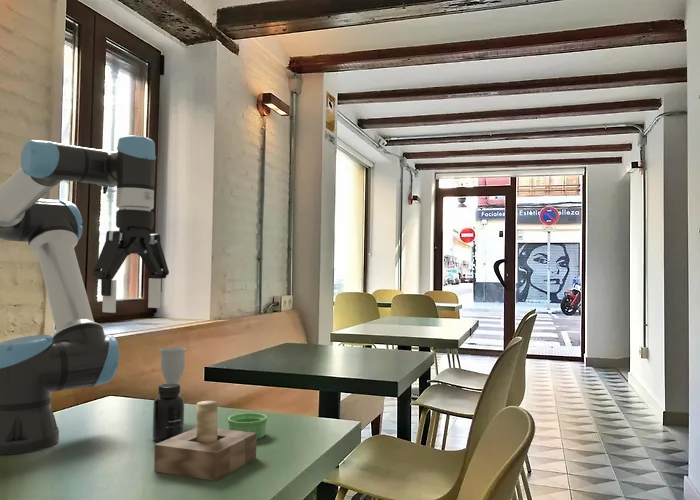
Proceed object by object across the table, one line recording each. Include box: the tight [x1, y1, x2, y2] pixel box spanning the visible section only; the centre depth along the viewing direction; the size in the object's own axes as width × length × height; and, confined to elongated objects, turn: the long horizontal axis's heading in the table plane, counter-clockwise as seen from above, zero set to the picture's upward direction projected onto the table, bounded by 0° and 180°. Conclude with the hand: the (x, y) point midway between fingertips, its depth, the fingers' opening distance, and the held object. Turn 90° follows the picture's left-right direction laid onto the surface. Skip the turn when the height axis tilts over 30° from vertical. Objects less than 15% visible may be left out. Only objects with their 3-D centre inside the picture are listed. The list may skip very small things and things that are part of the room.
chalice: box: [159, 346, 187, 384], centre depth 150 cm, size 7×7×18 cm
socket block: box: [153, 426, 257, 482], centre depth 115 cm, size 14×14×5 cm
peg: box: [196, 400, 218, 444], centre depth 115 cm, size 4×4×12 cm
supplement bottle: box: [152, 383, 185, 442], centre depth 133 cm, size 7×7×12 cm
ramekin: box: [227, 412, 268, 441], centre depth 134 cm, size 9×9×4 cm
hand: (132, 310), depth 123 cm, fingers open, 13 cm apart
